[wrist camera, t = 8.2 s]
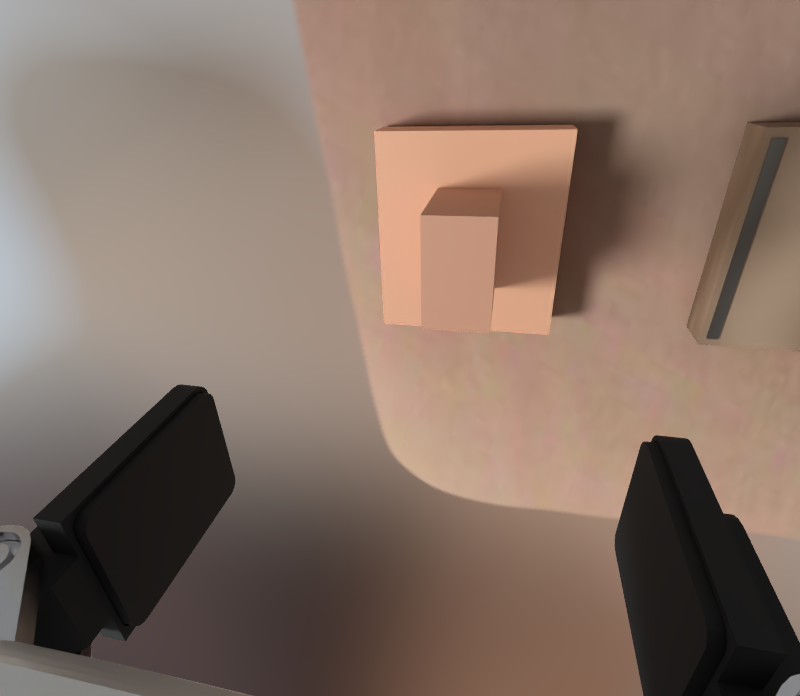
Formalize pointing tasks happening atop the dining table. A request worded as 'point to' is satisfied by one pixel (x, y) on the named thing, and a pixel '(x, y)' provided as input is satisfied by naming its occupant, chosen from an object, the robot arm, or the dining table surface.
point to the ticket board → (755, 248)
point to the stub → (472, 224)
